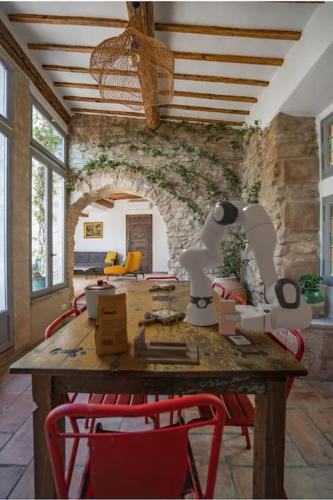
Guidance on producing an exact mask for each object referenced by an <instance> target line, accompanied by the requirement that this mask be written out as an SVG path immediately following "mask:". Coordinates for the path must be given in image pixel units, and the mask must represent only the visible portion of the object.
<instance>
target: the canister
mask: <svg viewBox="0 0 333 500" xmlns="http://www.w3.org/2000/svg"><path fill="white" fill-rule="evenodd" d="M116 289H117V286H115V285H114V284H110V283H104V280H103V279H98V280H97V281H96V283H95V284H94V283H93V284H88V285H87V286H85V287H84V288H83V291H84V296H85V297H84V298H85V304H86V311H87V316H88V317H89V318H90V319H92V318H93V319H92V320H97V308H98V295H99V294H105V295H115V294H116Z"/></svg>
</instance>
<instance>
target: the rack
mask: <svg viewBox="0 0 333 500" xmlns="http://www.w3.org/2000/svg"><path fill="white" fill-rule="evenodd" d="M198 359H199V357H198V345H197V344H194V343H193V344H192V343H191V344H189V343H187V340H164V339H163V340H160V339H159V340H158V339H150V340H149V342H146V326H145V325H141V327H140V328H139V330H138V332H137V333H136V335H135V337H134V338H133V363H150V364H151V363H153V364H154V363H155V364H176V365H177V364H180V365H182V364H183V365H198Z"/></svg>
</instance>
